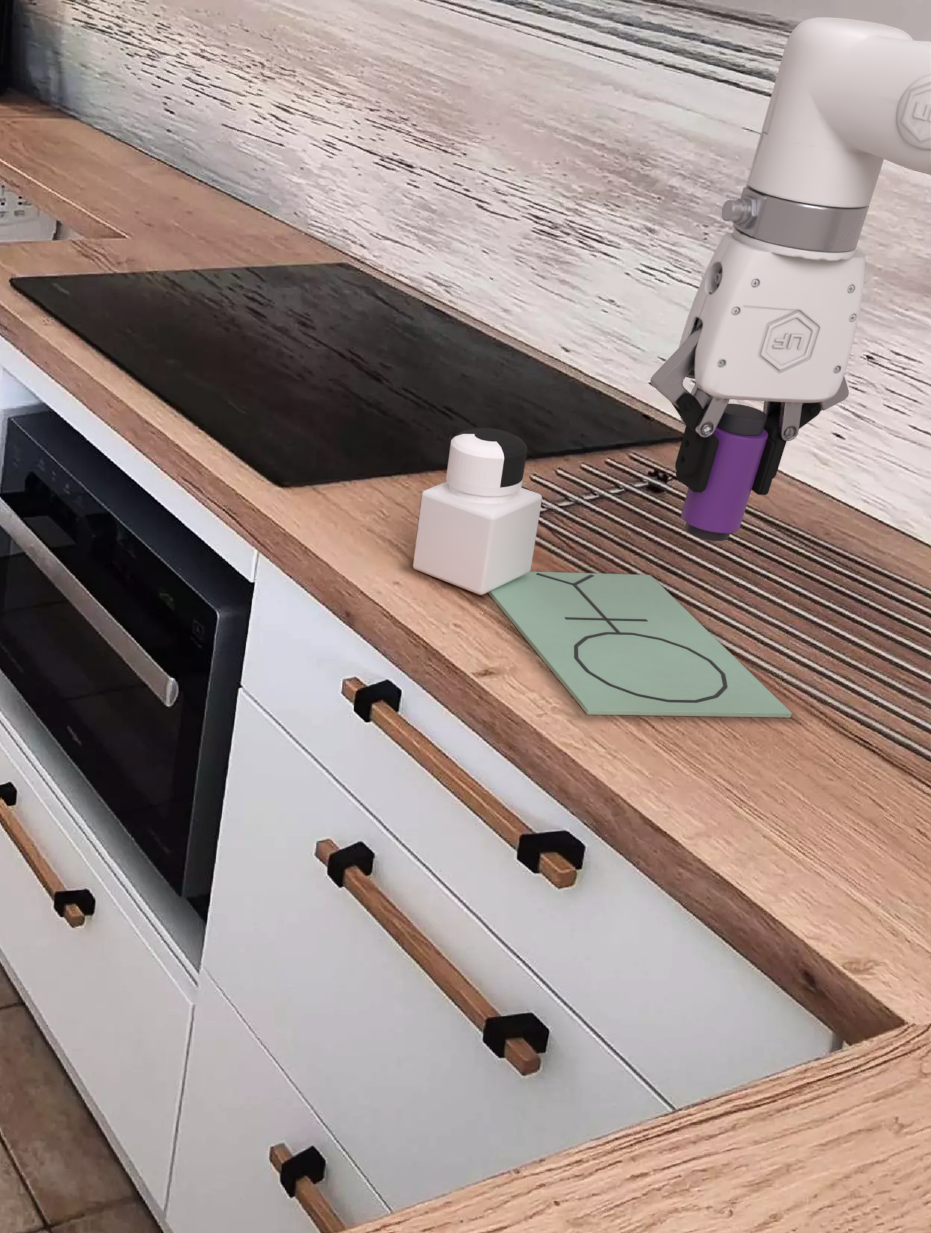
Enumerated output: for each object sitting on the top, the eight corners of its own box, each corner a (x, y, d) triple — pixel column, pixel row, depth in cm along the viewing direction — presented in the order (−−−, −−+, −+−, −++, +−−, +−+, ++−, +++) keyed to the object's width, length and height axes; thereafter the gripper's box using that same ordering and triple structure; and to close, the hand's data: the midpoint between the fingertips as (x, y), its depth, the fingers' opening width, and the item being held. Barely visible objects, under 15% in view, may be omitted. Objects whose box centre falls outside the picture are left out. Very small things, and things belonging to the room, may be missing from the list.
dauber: (737, 529, 125) (774, 409, 121) (735, 549, 122) (772, 426, 117) (679, 516, 126) (714, 397, 122) (675, 535, 123) (710, 413, 118)
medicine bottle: (461, 546, 152) (479, 414, 146) (531, 573, 147) (553, 438, 142) (410, 569, 148) (427, 434, 142) (481, 597, 143) (501, 459, 137)
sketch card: (790, 717, 130) (792, 712, 129) (587, 714, 127) (588, 709, 127) (649, 578, 150) (650, 574, 150) (471, 574, 148) (472, 569, 148)
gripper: (705, 230, 109) (631, 503, 118) (949, 246, 112) (859, 512, 120) (652, 201, 115) (585, 461, 124) (884, 216, 118) (803, 470, 127)
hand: (721, 483), depth 122 cm, fingers closed on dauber, 4 cm apart
